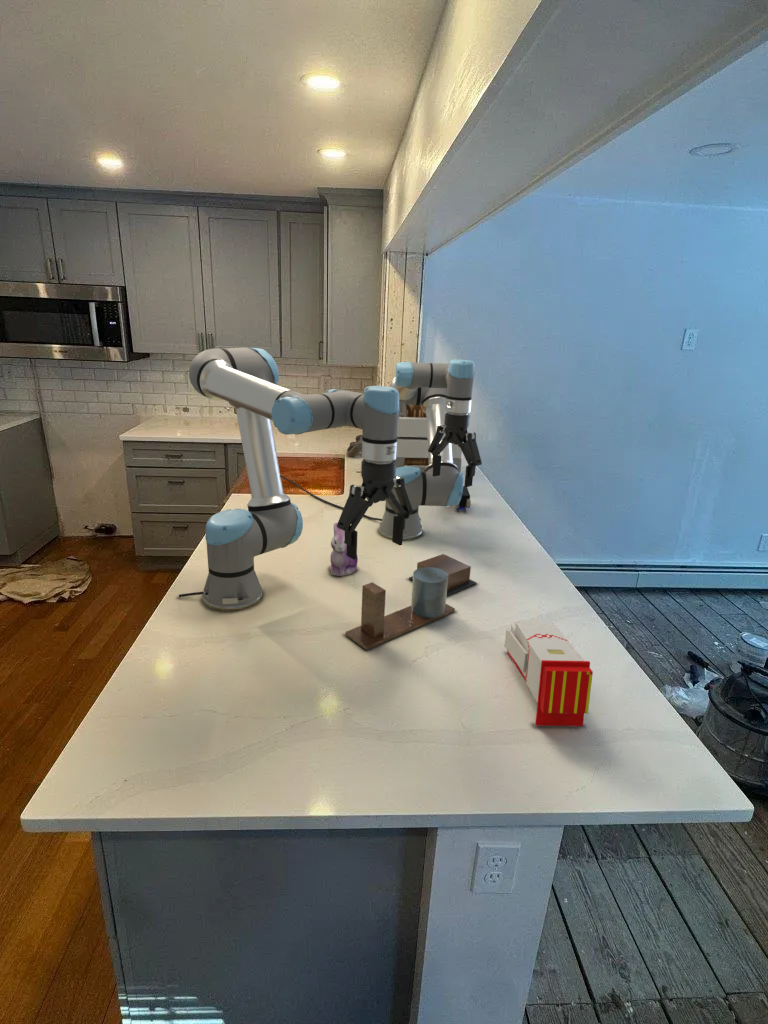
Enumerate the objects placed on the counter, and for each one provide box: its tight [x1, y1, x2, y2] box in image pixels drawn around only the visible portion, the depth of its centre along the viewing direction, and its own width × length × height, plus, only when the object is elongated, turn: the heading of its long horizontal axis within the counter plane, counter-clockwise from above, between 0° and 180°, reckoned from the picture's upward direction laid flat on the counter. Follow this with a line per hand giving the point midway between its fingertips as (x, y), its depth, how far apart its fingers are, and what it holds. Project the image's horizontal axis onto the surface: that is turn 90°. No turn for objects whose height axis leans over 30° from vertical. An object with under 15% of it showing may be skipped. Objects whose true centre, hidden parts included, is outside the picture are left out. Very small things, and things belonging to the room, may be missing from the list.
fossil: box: [346, 434, 362, 458], centre depth 305 cm, size 22×10×15 cm
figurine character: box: [454, 485, 472, 513], centre depth 228 cm, size 7×8×15 cm
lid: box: [416, 553, 472, 591], centre depth 165 cm, size 11×11×5 cm
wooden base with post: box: [345, 567, 455, 651], centre depth 141 cm, size 30×9×13 cm, turn 131°
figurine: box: [329, 522, 359, 577], centre depth 168 cm, size 9×10×15 cm
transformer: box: [394, 401, 463, 473], centre depth 268 cm, size 34×33×41 cm
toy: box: [503, 622, 594, 727], centre depth 121 cm, size 12×13×30 cm
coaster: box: [408, 575, 477, 598], centre depth 166 cm, size 14×14×1 cm
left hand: (375, 550), depth 129 cm, fingers open, 13 cm apart
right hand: (451, 480), depth 177 cm, fingers open, 13 cm apart
